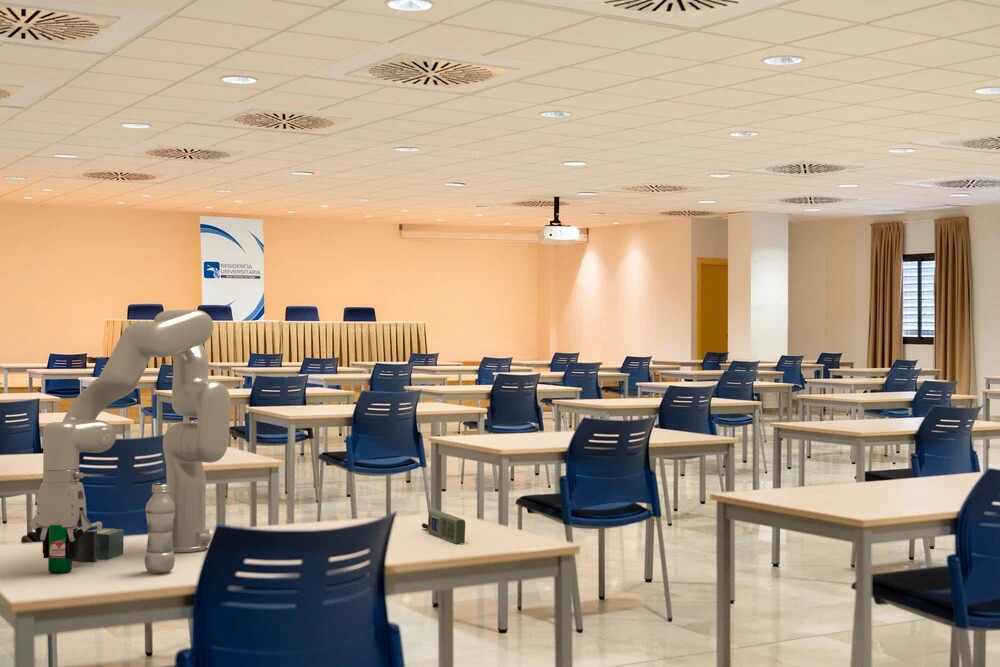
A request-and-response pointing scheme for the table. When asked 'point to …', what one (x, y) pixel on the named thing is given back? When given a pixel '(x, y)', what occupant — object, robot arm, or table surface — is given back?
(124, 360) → the robot arm
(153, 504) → the plastic bottle
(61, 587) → the table surface
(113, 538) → the dark grey cube
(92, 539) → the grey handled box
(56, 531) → the soda can
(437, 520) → the handheld radio
